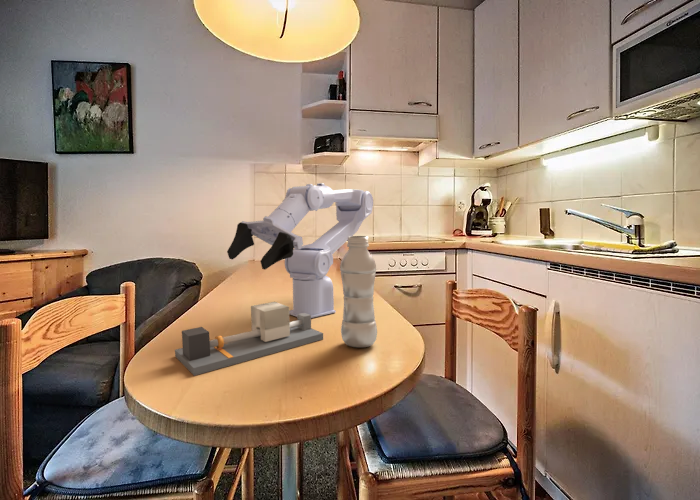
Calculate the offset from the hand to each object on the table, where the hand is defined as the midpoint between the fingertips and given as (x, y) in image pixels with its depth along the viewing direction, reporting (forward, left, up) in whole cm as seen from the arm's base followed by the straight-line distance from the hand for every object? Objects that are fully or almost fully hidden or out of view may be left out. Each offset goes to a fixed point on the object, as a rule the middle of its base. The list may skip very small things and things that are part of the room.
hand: (245, 260), depth 69 cm
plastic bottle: (-14, +17, -16) cm, 27 cm away
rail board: (+1, +5, -15) cm, 16 cm away
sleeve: (-2, +5, -14) cm, 15 cm away
